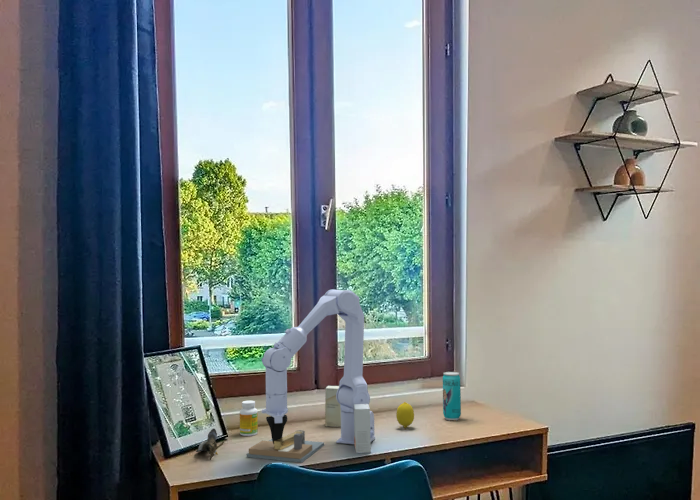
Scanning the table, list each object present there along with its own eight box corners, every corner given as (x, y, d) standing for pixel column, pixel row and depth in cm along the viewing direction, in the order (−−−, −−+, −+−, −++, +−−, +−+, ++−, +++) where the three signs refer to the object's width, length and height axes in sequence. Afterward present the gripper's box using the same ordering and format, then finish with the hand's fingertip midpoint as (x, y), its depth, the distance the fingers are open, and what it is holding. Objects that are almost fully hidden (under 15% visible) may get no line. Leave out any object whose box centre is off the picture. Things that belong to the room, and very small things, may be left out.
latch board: (324, 445, 174) (324, 423, 174) (301, 462, 159) (301, 439, 159) (273, 440, 179) (273, 419, 179) (246, 457, 164) (246, 434, 164)
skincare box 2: (354, 446, 172) (353, 403, 172) (369, 446, 172) (368, 403, 173) (355, 453, 166) (354, 408, 166) (371, 453, 166) (370, 408, 167)
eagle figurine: (231, 452, 165) (222, 438, 173) (218, 433, 162) (209, 419, 170) (207, 470, 162) (199, 455, 170) (193, 451, 160) (185, 437, 168)
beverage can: (439, 418, 202) (438, 372, 203) (451, 416, 206) (451, 370, 206) (452, 422, 198) (451, 375, 198) (464, 419, 201) (463, 373, 201)
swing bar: (298, 442, 173) (298, 429, 173) (306, 443, 172) (306, 430, 172) (273, 454, 162) (273, 441, 163) (281, 456, 161) (281, 442, 161)
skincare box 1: (324, 426, 194) (324, 388, 194) (327, 423, 198) (327, 385, 199) (344, 427, 193) (344, 388, 193) (346, 423, 197) (346, 385, 198)
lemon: (394, 429, 190) (393, 403, 190) (399, 424, 195) (399, 399, 195) (411, 430, 188) (411, 404, 188) (416, 426, 193) (416, 400, 193)
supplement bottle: (254, 436, 184) (253, 404, 184) (237, 435, 185) (236, 403, 185) (260, 431, 189) (259, 400, 189) (243, 431, 190) (243, 399, 190)
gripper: (260, 388, 172) (260, 437, 172) (262, 399, 158) (263, 452, 158) (285, 387, 174) (286, 435, 173) (290, 398, 160) (290, 450, 159)
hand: (277, 443), depth 166 cm, fingers closed, pressing on swing bar
